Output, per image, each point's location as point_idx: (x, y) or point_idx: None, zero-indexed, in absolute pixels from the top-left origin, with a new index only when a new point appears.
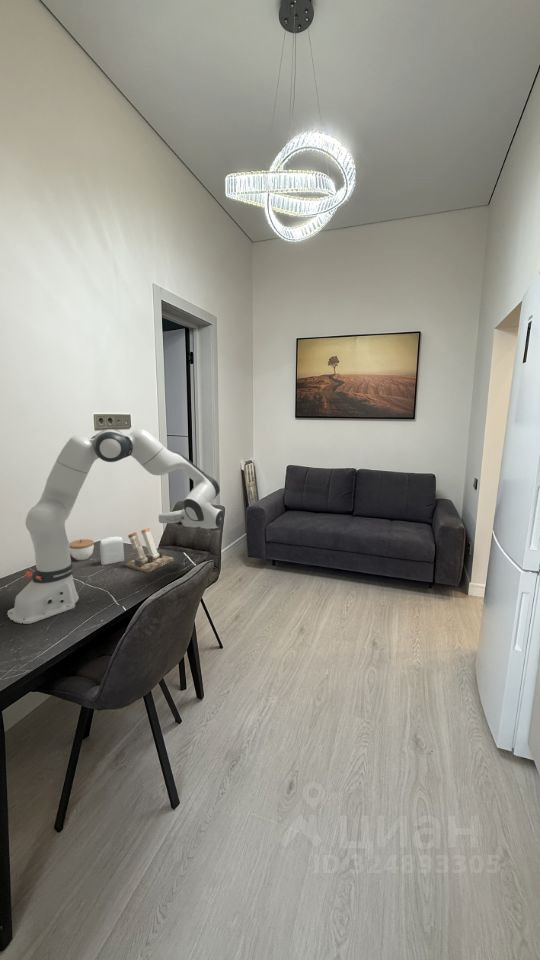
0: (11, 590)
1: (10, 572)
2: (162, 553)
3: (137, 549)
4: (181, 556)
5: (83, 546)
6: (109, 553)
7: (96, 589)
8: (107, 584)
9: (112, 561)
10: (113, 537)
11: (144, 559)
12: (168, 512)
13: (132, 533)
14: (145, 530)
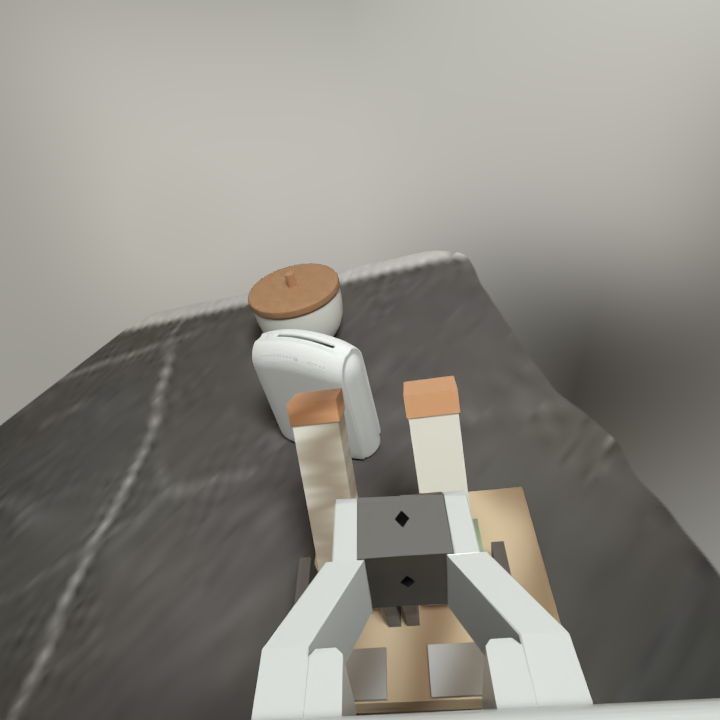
0: (19, 415)
1: (141, 319)
2: None
3: (311, 521)
4: (693, 682)
5: (267, 314)
6: None
7: (30, 650)
8: (94, 644)
9: None
10: (303, 342)
11: None
12: (438, 508)
13: (298, 404)
14: (412, 404)
